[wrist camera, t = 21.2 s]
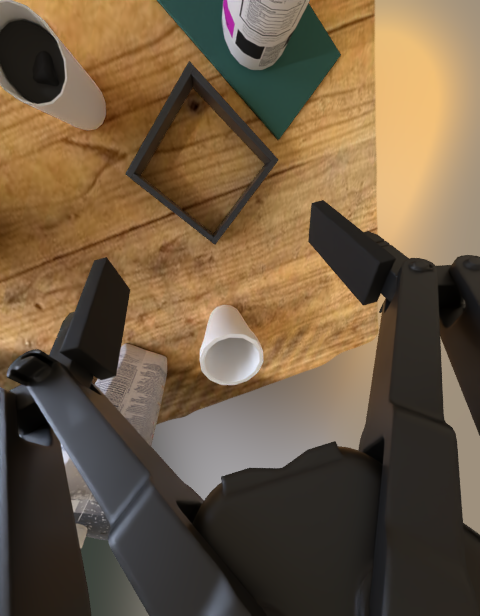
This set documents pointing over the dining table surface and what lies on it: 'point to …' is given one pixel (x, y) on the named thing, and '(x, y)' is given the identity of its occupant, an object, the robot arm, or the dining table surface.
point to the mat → (268, 82)
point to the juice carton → (140, 414)
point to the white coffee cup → (45, 70)
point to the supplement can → (260, 29)
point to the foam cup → (229, 348)
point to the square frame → (222, 108)
